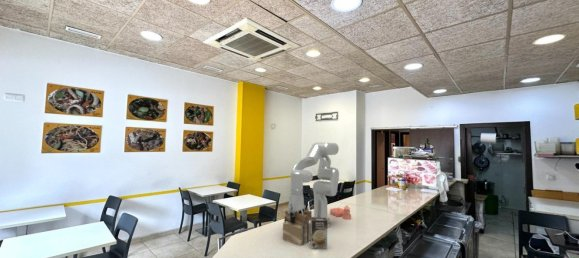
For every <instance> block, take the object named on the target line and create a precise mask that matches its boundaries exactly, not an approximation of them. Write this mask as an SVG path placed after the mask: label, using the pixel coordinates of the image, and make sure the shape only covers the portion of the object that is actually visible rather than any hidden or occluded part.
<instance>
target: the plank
mask: <svg viewBox="0 0 579 258" xmlns="http://www.w3.org/2000/svg"><path fill="white" fill-rule="evenodd" d="M287 211H288V210H285V213H284V215H285V216H284V217H286V222H290V215H289V213H288V212H287ZM292 214H293V212H292ZM294 217H295V223H293V224H297V225H300V226H303V222H305V224H304V227H306V226H308V215H304V214H300V213H299V212H298V211H297V212H295V215H294ZM290 223H291V222H290Z"/></svg>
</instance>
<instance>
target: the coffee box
mask: <svg viewBox="0 0 579 258" xmlns="http://www.w3.org/2000/svg"><path fill="white" fill-rule="evenodd" d="M328 223H329V220H328V221H327V219H326V218H322V217H314V216H312V217H311V225H310V241H309V246H310V249H311V250H328V227H327V225H328Z"/></svg>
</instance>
